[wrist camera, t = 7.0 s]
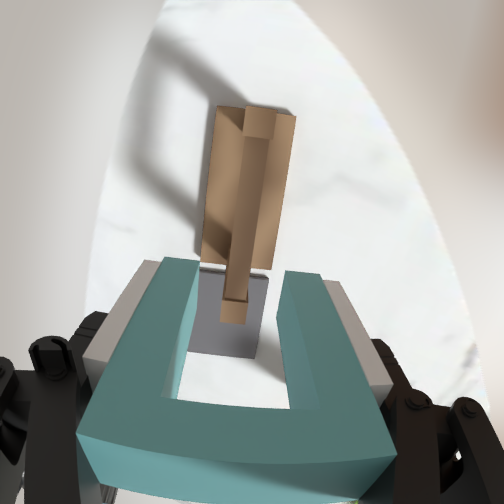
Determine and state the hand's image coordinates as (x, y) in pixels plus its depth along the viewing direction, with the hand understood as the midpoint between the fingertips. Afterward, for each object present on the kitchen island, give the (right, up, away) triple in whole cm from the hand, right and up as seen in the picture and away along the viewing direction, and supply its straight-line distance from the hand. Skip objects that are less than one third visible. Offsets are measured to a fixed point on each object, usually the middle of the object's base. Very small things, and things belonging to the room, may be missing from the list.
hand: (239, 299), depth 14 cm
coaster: (-4, -6, +26) cm, 27 cm away
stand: (0, +9, +20) cm, 22 cm away
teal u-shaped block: (0, 0, +1) cm, 1 cm away
